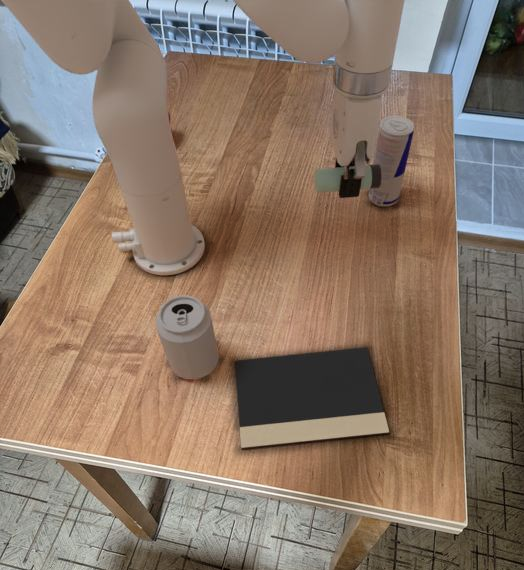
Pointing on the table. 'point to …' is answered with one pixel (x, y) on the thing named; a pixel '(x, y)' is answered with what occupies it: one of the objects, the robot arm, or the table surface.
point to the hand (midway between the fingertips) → (346, 186)
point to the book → (308, 398)
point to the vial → (331, 176)
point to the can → (187, 336)
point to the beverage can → (391, 158)
